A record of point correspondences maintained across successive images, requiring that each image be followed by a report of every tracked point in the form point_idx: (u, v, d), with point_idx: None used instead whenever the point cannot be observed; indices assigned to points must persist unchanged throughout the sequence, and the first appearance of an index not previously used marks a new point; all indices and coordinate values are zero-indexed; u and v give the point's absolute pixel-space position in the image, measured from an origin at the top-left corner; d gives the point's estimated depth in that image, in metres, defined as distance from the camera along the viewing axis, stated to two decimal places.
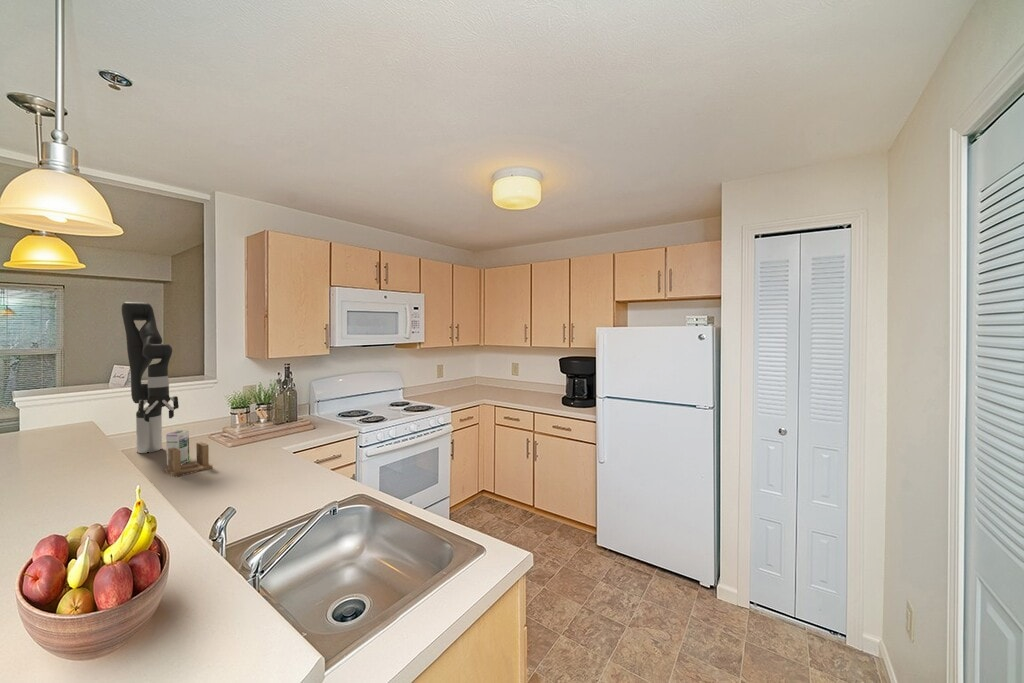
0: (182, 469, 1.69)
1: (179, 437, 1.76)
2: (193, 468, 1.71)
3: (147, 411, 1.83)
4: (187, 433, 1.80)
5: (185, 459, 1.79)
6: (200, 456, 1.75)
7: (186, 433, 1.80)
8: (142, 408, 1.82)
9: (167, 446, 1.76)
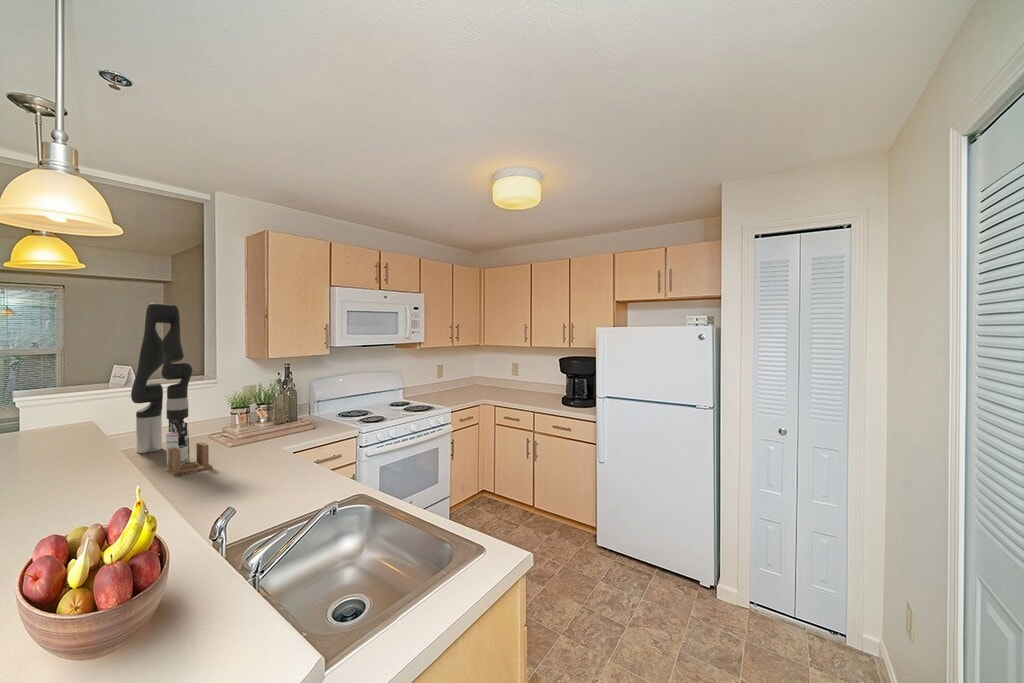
0: (182, 469, 1.69)
1: None
2: (193, 468, 1.71)
3: None
4: (187, 433, 1.80)
5: (185, 459, 1.79)
6: (200, 456, 1.75)
7: None
8: None
9: (167, 446, 1.76)
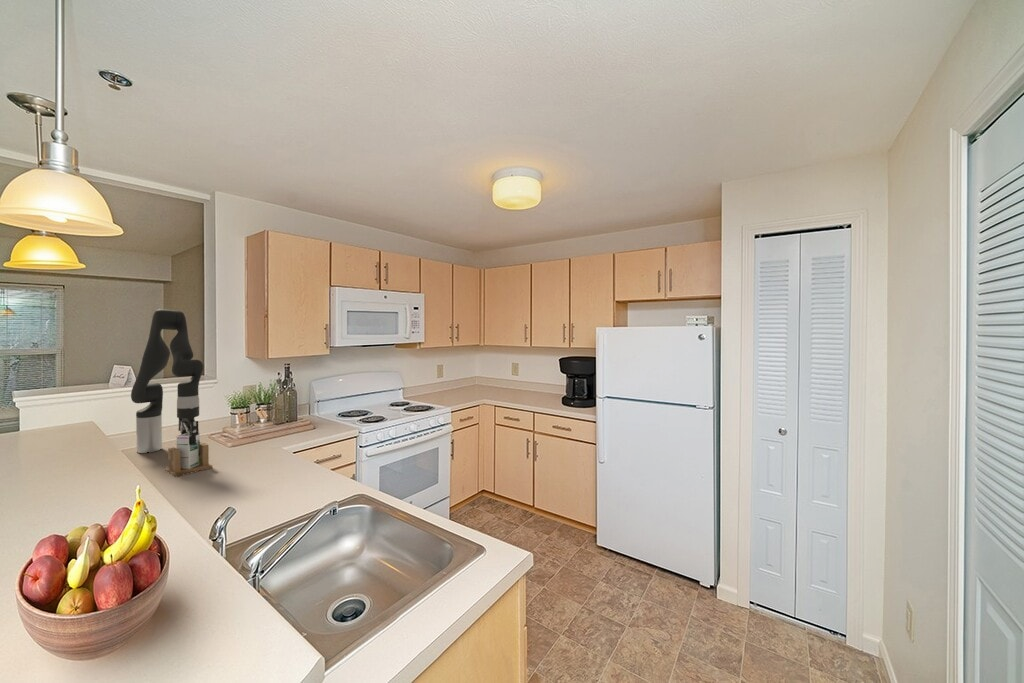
0: (182, 469, 1.69)
1: None
2: (193, 468, 1.71)
3: None
4: (198, 435, 1.74)
5: (195, 462, 1.73)
6: (200, 456, 1.75)
7: (197, 435, 1.73)
8: None
9: None
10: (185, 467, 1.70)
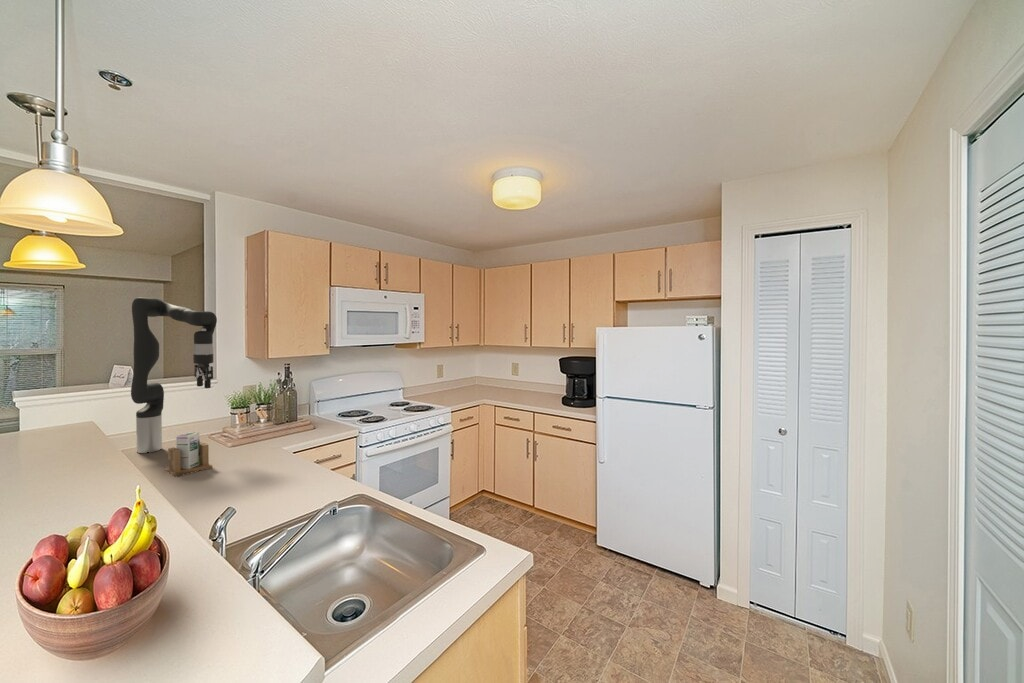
0: (182, 469, 1.69)
1: (189, 439, 1.70)
2: (193, 468, 1.71)
3: None
4: (197, 435, 1.74)
5: (195, 462, 1.73)
6: (200, 456, 1.75)
7: (197, 435, 1.73)
8: None
9: None
10: (185, 467, 1.70)
